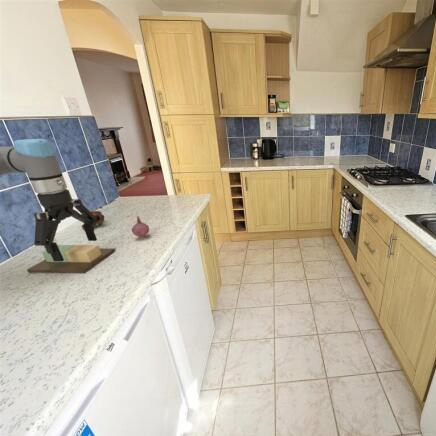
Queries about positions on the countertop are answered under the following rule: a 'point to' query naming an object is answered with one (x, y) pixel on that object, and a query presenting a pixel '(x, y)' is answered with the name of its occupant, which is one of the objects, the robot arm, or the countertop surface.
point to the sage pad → (62, 249)
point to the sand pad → (83, 253)
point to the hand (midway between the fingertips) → (77, 249)
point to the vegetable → (140, 228)
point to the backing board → (70, 264)
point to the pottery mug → (97, 218)
